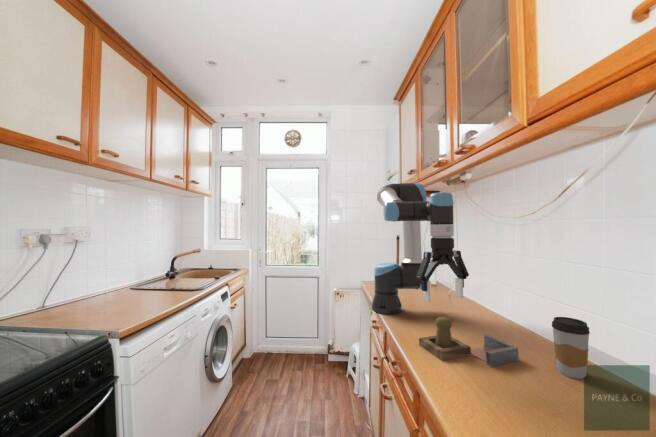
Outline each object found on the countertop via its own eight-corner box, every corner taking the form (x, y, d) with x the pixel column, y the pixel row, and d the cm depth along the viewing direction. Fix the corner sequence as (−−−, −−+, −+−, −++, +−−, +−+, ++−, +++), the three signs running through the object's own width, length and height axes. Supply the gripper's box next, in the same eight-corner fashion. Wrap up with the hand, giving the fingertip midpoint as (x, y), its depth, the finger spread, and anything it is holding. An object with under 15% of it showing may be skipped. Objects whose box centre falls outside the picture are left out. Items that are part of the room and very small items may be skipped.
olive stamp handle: (455, 354, 91) (455, 321, 92) (436, 353, 93) (435, 320, 93) (451, 346, 97) (450, 315, 98) (433, 345, 99) (432, 314, 99)
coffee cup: (592, 373, 79) (590, 321, 80) (590, 385, 74) (588, 328, 74) (555, 363, 85) (553, 314, 86) (550, 373, 80) (549, 321, 80)
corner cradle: (461, 350, 94) (461, 338, 94) (487, 345, 98) (487, 334, 98) (490, 366, 83) (490, 353, 84) (518, 360, 87) (518, 348, 87)
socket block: (419, 345, 99) (419, 337, 99) (445, 340, 102) (445, 333, 102) (442, 360, 88) (441, 352, 88) (470, 354, 91) (470, 346, 91)
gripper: (418, 238, 88) (419, 305, 88) (479, 236, 96) (480, 298, 95) (404, 237, 95) (405, 299, 95) (462, 236, 103) (463, 293, 102)
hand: (443, 299), depth 95 cm, fingers open, 13 cm apart
